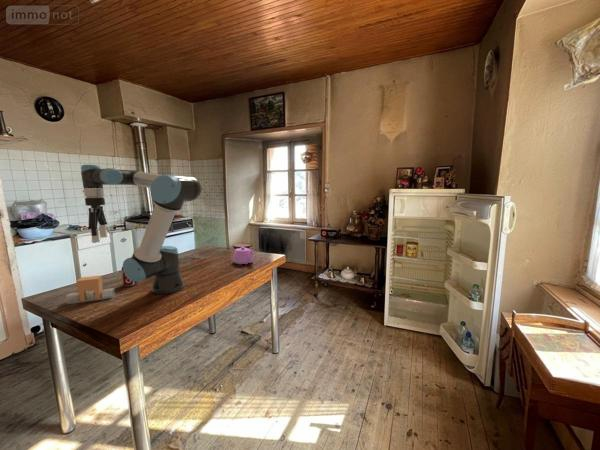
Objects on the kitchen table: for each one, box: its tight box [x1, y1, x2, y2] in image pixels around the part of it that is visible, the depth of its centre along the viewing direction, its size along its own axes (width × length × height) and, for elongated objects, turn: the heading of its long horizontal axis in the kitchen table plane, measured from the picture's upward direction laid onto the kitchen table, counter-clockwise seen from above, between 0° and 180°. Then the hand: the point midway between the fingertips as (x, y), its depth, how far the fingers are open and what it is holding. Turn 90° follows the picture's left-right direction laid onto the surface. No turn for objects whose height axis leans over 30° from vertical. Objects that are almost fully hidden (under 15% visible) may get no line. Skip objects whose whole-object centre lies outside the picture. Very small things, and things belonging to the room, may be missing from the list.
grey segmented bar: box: [65, 287, 116, 305], centre depth 124 cm, size 18×4×4 cm, turn 112°
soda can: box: [121, 265, 139, 287], centre depth 142 cm, size 7×7×12 cm
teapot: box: [232, 246, 255, 265], centre depth 182 cm, size 20×13×12 cm, turn 55°
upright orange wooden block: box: [76, 275, 104, 301], centre depth 123 cm, size 8×5×10 cm, turn 112°
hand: (100, 239), depth 128 cm, fingers open, 13 cm apart
